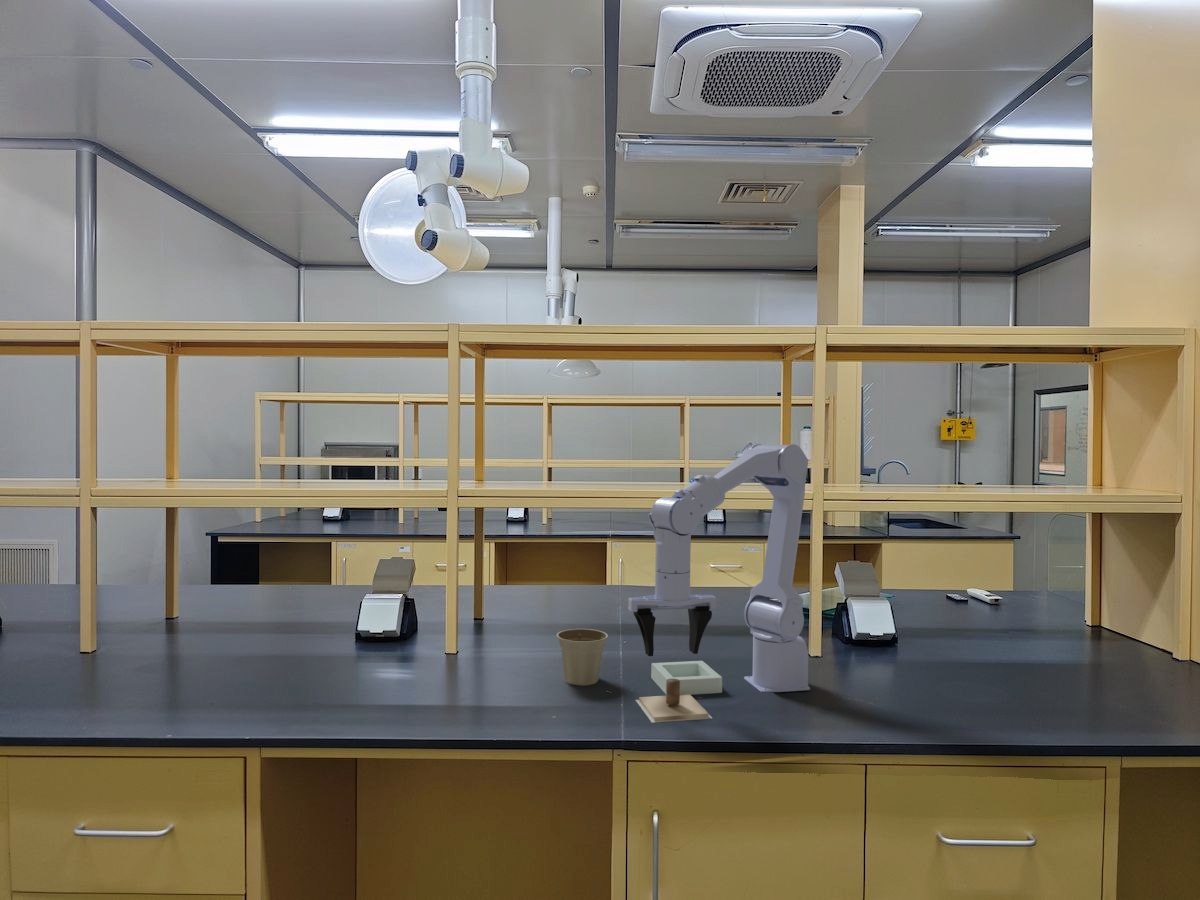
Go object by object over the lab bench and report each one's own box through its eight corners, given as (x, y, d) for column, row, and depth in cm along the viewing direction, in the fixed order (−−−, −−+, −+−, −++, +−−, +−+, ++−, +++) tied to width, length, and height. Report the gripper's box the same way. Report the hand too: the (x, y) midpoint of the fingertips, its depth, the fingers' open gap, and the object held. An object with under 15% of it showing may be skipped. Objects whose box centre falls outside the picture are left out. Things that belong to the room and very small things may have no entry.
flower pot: (579, 670, 137) (579, 625, 137) (617, 681, 131) (618, 634, 131) (545, 682, 130) (545, 635, 130) (584, 694, 124) (585, 644, 124)
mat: (691, 698, 122) (691, 696, 122) (712, 720, 113) (712, 718, 113) (635, 702, 120) (635, 699, 120) (651, 725, 110) (652, 722, 110)
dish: (701, 678, 134) (702, 660, 134) (721, 696, 125) (722, 677, 125) (651, 681, 132) (651, 663, 132) (667, 700, 122) (667, 680, 122)
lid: (689, 697, 122) (690, 670, 122) (708, 717, 113) (709, 688, 113) (638, 700, 120) (639, 673, 120) (654, 721, 111) (654, 691, 111)
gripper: (705, 565, 122) (704, 644, 122) (623, 567, 119) (622, 648, 119) (721, 572, 115) (720, 656, 115) (635, 575, 112) (634, 661, 112)
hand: (671, 653), depth 117 cm, fingers open, 7 cm apart
